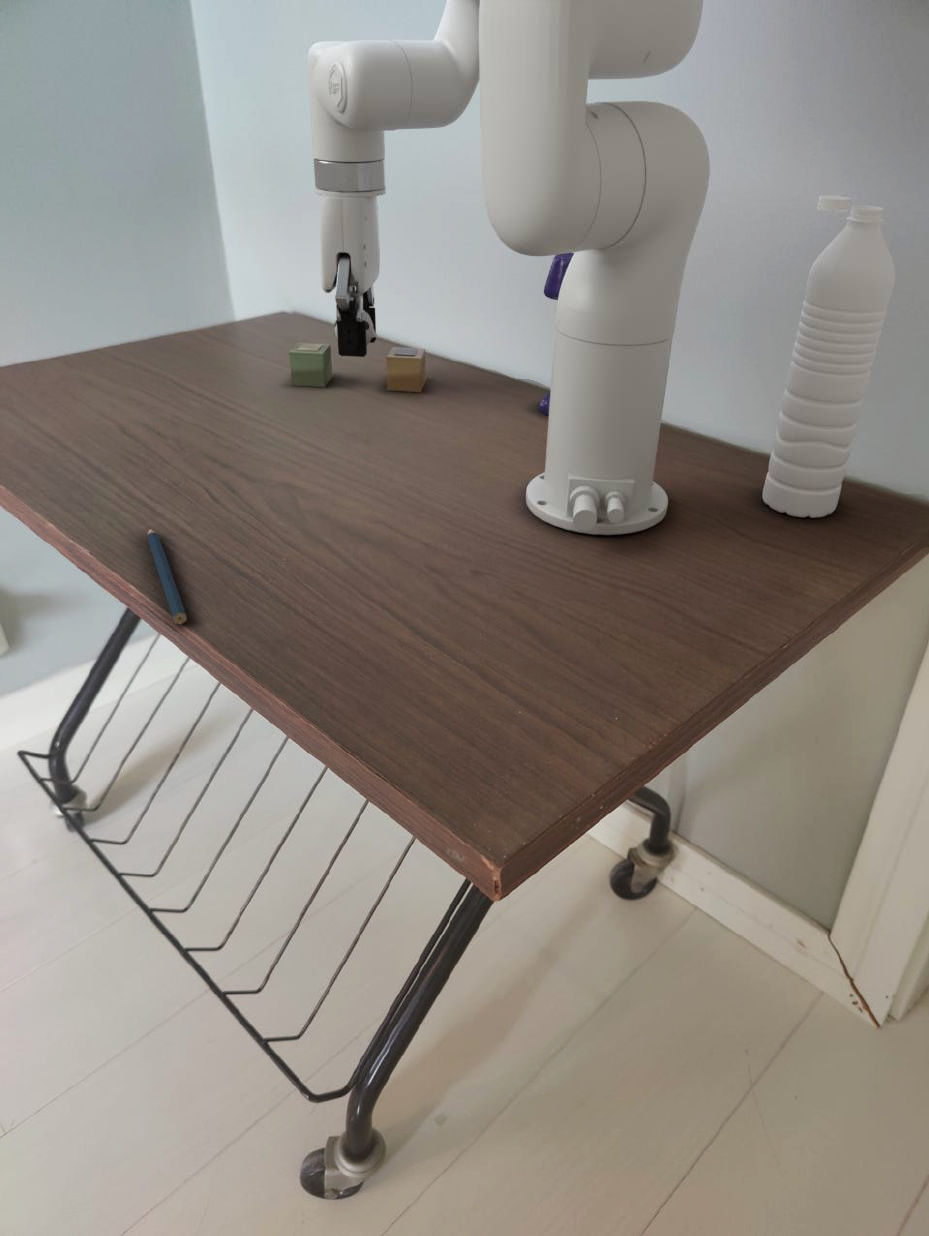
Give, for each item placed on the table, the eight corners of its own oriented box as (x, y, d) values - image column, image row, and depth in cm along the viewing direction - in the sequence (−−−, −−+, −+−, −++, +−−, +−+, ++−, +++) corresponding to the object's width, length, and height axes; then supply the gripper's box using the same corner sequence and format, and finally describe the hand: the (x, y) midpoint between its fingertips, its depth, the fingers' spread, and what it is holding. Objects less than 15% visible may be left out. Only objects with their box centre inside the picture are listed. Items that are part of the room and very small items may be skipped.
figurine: (371, 358, 105) (369, 314, 102) (330, 354, 106) (327, 310, 103) (383, 346, 109) (382, 303, 106) (343, 342, 110) (341, 300, 107)
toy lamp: (585, 415, 102) (600, 257, 93) (549, 421, 100) (560, 260, 91) (563, 401, 105) (575, 248, 96) (528, 407, 104) (536, 251, 95)
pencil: (189, 615, 64) (157, 525, 76) (175, 611, 64) (146, 521, 75) (184, 625, 65) (153, 534, 76) (170, 621, 64) (141, 530, 76)
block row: (420, 392, 107) (420, 357, 105) (291, 385, 108) (288, 351, 106) (425, 381, 111) (425, 347, 108) (300, 375, 112) (297, 341, 110)
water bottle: (850, 515, 81) (933, 211, 68) (786, 522, 80) (857, 213, 66) (796, 476, 88) (860, 194, 75) (735, 482, 87) (790, 195, 73)
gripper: (333, 167, 105) (342, 327, 115) (294, 187, 91) (308, 369, 100) (398, 169, 104) (401, 330, 114) (369, 190, 90) (375, 372, 100)
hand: (357, 346), depth 107 cm, fingers closed on figurine, 5 cm apart
